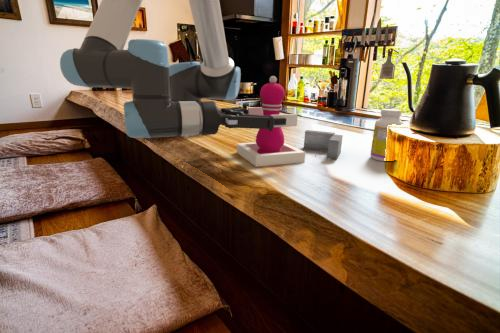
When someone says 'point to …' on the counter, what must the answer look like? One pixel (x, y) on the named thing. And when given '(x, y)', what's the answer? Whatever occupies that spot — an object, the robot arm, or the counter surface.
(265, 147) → the pepper mill
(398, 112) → the supplement bottle
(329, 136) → the corner bracket
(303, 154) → the socket
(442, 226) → the counter surface
